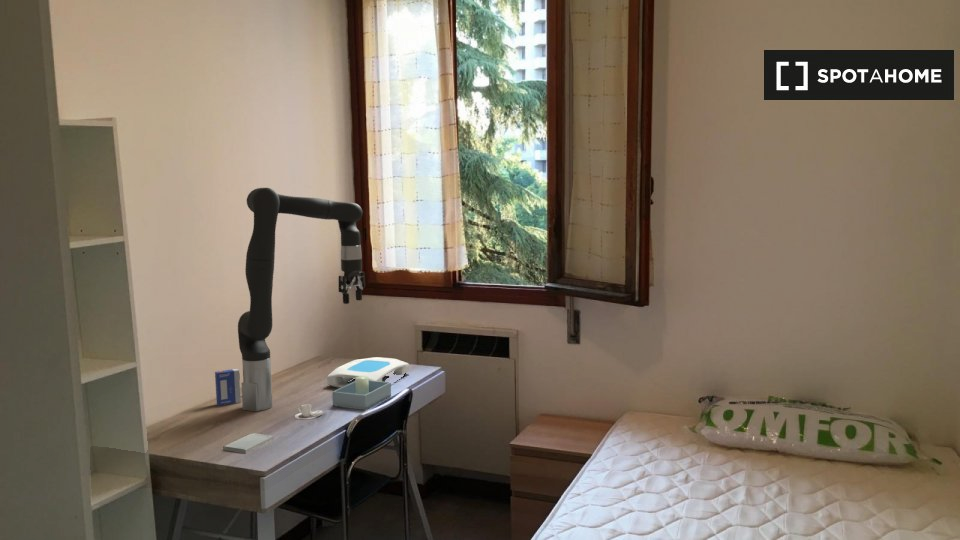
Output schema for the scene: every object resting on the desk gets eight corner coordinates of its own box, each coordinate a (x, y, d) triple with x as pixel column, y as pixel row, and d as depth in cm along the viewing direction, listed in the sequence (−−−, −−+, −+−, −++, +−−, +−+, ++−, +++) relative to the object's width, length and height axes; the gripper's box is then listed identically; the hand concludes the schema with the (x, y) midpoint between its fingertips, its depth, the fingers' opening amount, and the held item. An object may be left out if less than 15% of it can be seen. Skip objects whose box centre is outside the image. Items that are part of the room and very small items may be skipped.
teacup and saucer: (326, 415, 244) (325, 403, 244) (309, 422, 238) (308, 410, 237) (306, 411, 249) (306, 400, 248) (289, 418, 242) (289, 406, 242)
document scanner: (410, 374, 295) (409, 359, 294) (375, 393, 269) (375, 377, 268) (363, 370, 302) (363, 355, 301) (326, 388, 276) (325, 372, 275)
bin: (365, 410, 249) (365, 395, 248) (332, 405, 254) (332, 391, 253) (391, 396, 264) (390, 382, 264) (359, 392, 269) (359, 379, 269)
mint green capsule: (363, 400, 256) (363, 379, 255) (353, 399, 258) (352, 378, 257) (371, 397, 260) (371, 376, 259) (361, 396, 262) (360, 375, 261)
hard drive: (245, 449, 210) (273, 435, 221) (222, 446, 213) (251, 432, 224) (245, 455, 210) (273, 440, 221) (223, 451, 213) (251, 437, 225)
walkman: (218, 406, 255) (216, 372, 253) (216, 404, 257) (214, 370, 256) (241, 402, 259) (239, 369, 258) (239, 400, 261) (237, 367, 260)
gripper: (349, 260, 259) (350, 305, 261) (370, 256, 272) (371, 299, 274) (331, 259, 262) (333, 304, 264) (353, 255, 275) (354, 298, 277)
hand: (352, 301), depth 269 cm, fingers open, 8 cm apart
